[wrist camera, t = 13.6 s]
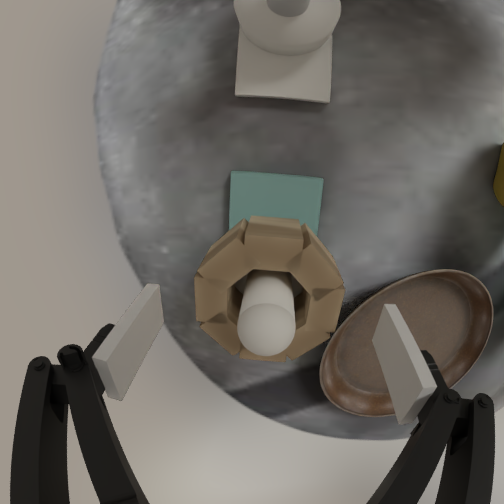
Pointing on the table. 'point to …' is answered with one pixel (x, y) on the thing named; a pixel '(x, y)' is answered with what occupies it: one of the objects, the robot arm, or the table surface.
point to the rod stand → (285, 48)
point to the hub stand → (266, 281)
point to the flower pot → (500, 179)
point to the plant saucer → (422, 329)
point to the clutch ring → (275, 259)
